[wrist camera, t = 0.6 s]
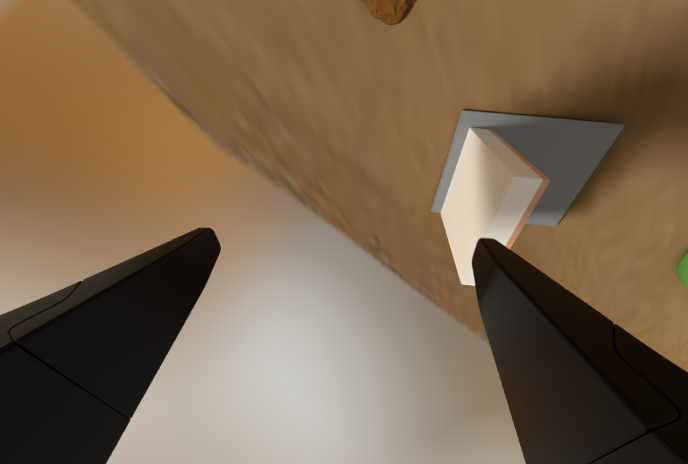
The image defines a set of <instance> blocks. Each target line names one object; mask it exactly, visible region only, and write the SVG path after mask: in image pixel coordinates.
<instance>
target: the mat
mask: <svg viewBox="0 0 688 464" xmlns="http://www.w3.org/2000/svg"><path fill="white" fill-rule="evenodd" d="M624 126H625V125H623V124H617V123H606V122H594V121H583V120H572V119H561V118H550V117H538V116H527V115H516V114H505V113H494V112H482V111H471V110H462V112H461V115H460V118H459V122H458V125H457V128H456V131H455V135H454V138H453V141H452V144H451V148H450V151H449V154H448V157H447V161H446V164H445V167H444V170H443V174H442V177H441V180H440V183H439V187H438V190H437V193H436V196H435V199H434V203H433V206H432V209H431V211H432V212H435V213H441V210H442V207H443V205H444V202H445V199H446V196H447V193H448V190H449V187H450V184H451V181H452V178H453V175H454V172H455V169H456V166H457V163H458V160H459V157H460V154H461V151H462V148H463V145H464V142H465V139H466V136H467V133H468V130H469V127H470V128H481V129H491V130H493V131H494V132H496V133H497V134H498V135H499V136H500V137H501V138H502V139H504V140H505V141H506V142H507V143H508V144H509V145H510V146H512V147H513V148H514V149H515V150H516V151H517V152H518V153H520V154H521V155H522V156H523V157H524V158H525V159H526V160H528V161H529V162H530V163H531V164H532V165H533V166H535V167H536V168H537V169H538V170H539V171H540V172H541V173H543V174H544V175H545V176H546V177H547V178H548V179H549V180H550V182H549V184H548V186H547V187H546V189H545V191H544V192H543V194H542V196H541V197H540V199H539V201H538V202H537V204H536V206H535V207H534V209H533V211H532V213H531V214H530V216H529V218H528V219H527V221H526V224H534V225H542V226H550V227H556V225H557V224H558V222H559V221H560V219H561V218H562V217H563V215H564V214H565V212H566V211H567V209H568V208H569V206H570V205H571V203H572V202H573V201H574V199H575V198H576V196H577V195H578V193H579V192H580V190H581V189H582V187H583V186H584V185H585V183H586V182H587V180H588V179H589V177H590V176H591V174H592V173H593V171H594V170H595V168H596V167H597V166H598V164H599V163H600V161H601V160H602V158H603V157H604V155H605V154H606V152H607V151H608V150H609V148H610V147H611V145H612V144H613V142H614V141H615V139H616V138H617V136H618V135H619V134H620V132H621V131H622V129H623V128H624Z"/></svg>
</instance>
